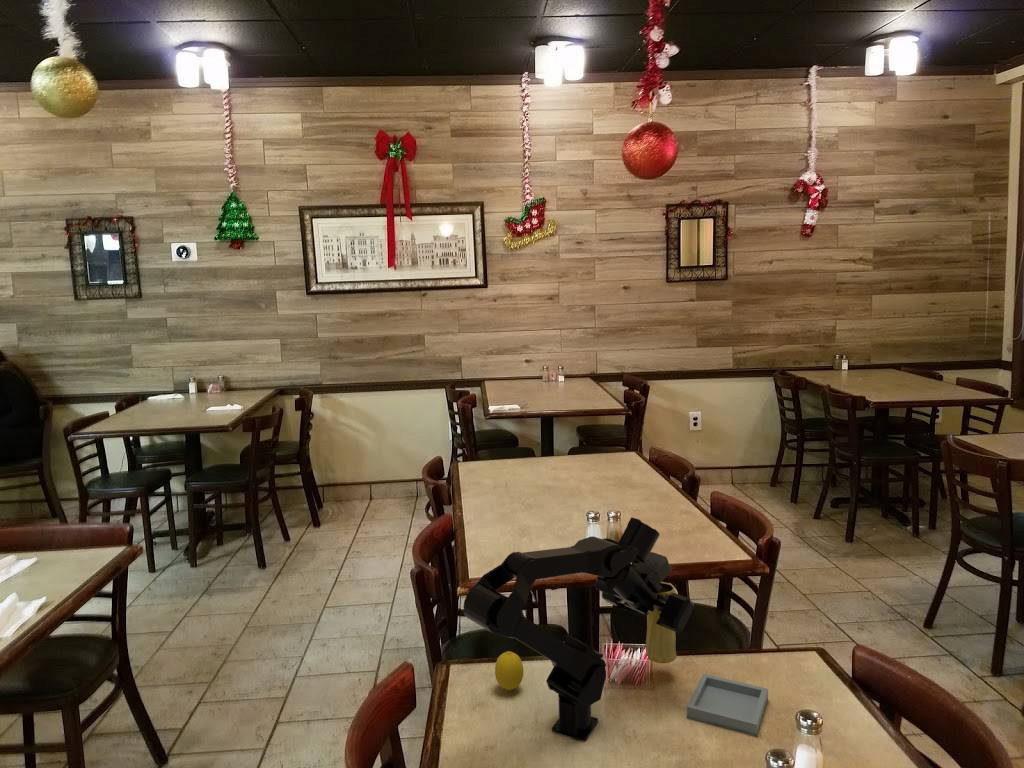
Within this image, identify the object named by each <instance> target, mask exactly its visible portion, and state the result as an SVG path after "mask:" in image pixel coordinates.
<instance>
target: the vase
mask: <svg viewBox="0 0 1024 768" xmlns="http://www.w3.org/2000/svg"><path fill="white" fill-rule="evenodd" d="M660 585H661V586H662V589H661V591H660V593H658V592H657V594H658V595H661V596H663V597H664V596H665V595H670V594H673V593H676V592H675V591H676V590H675V586H674V585H673V584H672V583H669V582H666V581H665V582H664V581H662V582H661V583H660ZM658 601H659V600H658ZM660 602H662V601H660ZM659 615H660V612H659V609H658V608H656V607H654V611H653V612H650V611H648V612H647V616H646V621H647V622H646V638H645V639H646V640H645V650H646V652H647V656H648V658H647V659H648V660H649V661H652V662H654V663H657V664H669V663H672V662H674V661H675V660H676V659H677V656H678V655H677V652H676V651H677V650H676V641H677V640H676V632H675V631H672V630H670V629H668V628H665V627H663V626H660V625H658V624H656V623H657V621H658V619H659Z"/></svg>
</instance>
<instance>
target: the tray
mask: <svg viewBox="0 0 1024 768" xmlns="http://www.w3.org/2000/svg"><path fill="white" fill-rule="evenodd" d="M768 700H769V688H766V687H762V686H758V685H755V684H754V685H753V684H749V683H745V682H740V681H736V680H731V679H728V678H723V677H719V676H715V675H710V674H707V673H702V675H701V677H700V679H699V681H698V683H697V684H696V687H695V689H694V691H693V693H692V695H691V698H690V700H689V702H688V704H687V706H686V719H688V720H692V721H696V722H700V723H704V724H708V725H711V726H715V727H719V728H723V729H727V730H730V731H734V732H738V733H741V734H746V735H747V736H748V735H749V736H753V737H755V738H757V737H758V734H759V731H760V727H761V724H762V720H763V718H764V717H763V716H764V714H765V710H766V707H767V705H768Z"/></svg>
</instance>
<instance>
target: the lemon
mask: <svg viewBox="0 0 1024 768" xmlns="http://www.w3.org/2000/svg"><path fill="white" fill-rule="evenodd" d="M494 665H495V666H494V675H495V679H496V682H497V684H498V685H499V686H500V687H501V688H503V689H504V690H507V691H510V692H511V691H513V690H514V689H515V688H517V687H519V686H520V685H521V684H522V681H523V678H524V665H523V662H522V659H521V658H520V656H519V655H518V654H516V653H515V652H513V651H509V650H507V651H506V652H505V651H504V652H503V653H502V654H500V655H499V656H498V657H497V659H496V662H495V664H494Z"/></svg>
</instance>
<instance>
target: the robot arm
mask: <svg viewBox="0 0 1024 768" xmlns="http://www.w3.org/2000/svg"><path fill="white" fill-rule="evenodd" d="M659 537H660V533H659V531H658V530H657V529H656V528H655V529H654V528H653V527H651V526H650V525H648V524H646V523H644V522H643V521H642V520H641V519H639V518H636V517H630V519H629V521H628V522H627V526H626V527H625V529H624V531H623V533H622V535H621V536H620V538H619V540H614V539H612V538H608V537H607V538H605V537H604V538H600V537H597V536H592V535H591V536H588V537H585V538H583V539H580V540H578V541H577V542H576V543H575V544H574V545H572V546H567V547H560V548H559V547H558V548H551V549H543V550H542V549H541V550H533V551H526V552H524V551H523V552H521V551H513V552H511V553H509V554H508V555H507V556H506V558H505V559H504V560H502V563H500V564H499V565H497V566H496V567H494V568H493V569H491V570H489V571H488V572H486V573H485V574H483V575H482V576H481V577H480V578H479V580H478V581H477V582H476V583H475V585H474V586H473V587H472V588H471V589H470V590H469V592H468V593H467V595H466V596H465V598H464V602H463V615H464V616H465V617H466V618H467V619H468V620H470V621H471V622H473V623H475V624H477V625H479V626H480V627H482V628H483V629H485V630H487V631H488V632H490V633H492V634H494V635H496V636H500V637H504V638H506V639H507V638H509V639H515V640H517V641H518V642H520V643H522V644H523V645H525V646H527V647H528V648H530V649H532V650H534V651H535V652H537V653H539V655H541V656H543V657H545V658H546V659H548V660H549V661H550V662H551V664H552V666H553V668H552V669H551V671H550V673H549V674H548V676H547V678H546V684H547V687H548V689H549V690H551V691H553V692H555V693H556V694H557V695H558V719H557V720H556V721H555V722H554V724H553V726H552V727H551V731H552V732H553V733H556V734H559V735H562V736H565V737H568V738H572V739H575V740H579V741H582V742H585V741H586V740H587V739H588V738H589V736H590V735H591V734H592V733H593V731H594V729H595V727H597V725H598V723H599V718H598V717H595V716H592V705H593V704H595V703H597V702H599V701H600V700H601V699H602V695H603V691H604V685H605V682H606V677H607V671H606V667H607V663H606V662H605V660H604V659H603V657H604V654H603V653H600V652H599V651H597V650H595V649H594V648H592V647H591V646H589V644H586V643H584V642H582V641H580V640H579V639H577V638H575V637H573V636H571V635H569V634H566V636H565V638H564V641H562V640H560V639H559V638H558V637H556V636H555V635H553V634H552V633H550V632H549V631H547V630H546V629H544V628H542V627H541V626H539V625H537V624H536V623H535V622H533V621H532V620H530V619H528V618H527V617H526V616H525V614H524V612H523V610H524V609H525V607H526V606H527V603H528V600H529V597H530V596H529V595H530V591H531V587H532V585H534V583H535V582H536V581H537V580H543V579H544V580H545V579H550V578H555V577H562V576H563V577H564V576H570V575H575V574H589V575H593V576H597V577H596V581H595V583H594V589H595V590H598V591H600V592H601V598H602V599H603V600H604V601H605V602H607V603H609V604H611V605H613V606H615V607H617V606H618V608H620V609H622V610H624V611H626V612H628V613H633V614H638V615H641V616H646V617H647V612H648V611H650V612H653V611H654V607H656V608H658V609H659V612H660V615H659V619H658V621H657V623H656V624H658V625H660V626H663V627H665V628H668V629H670V630H672V631H675V633H677V634H680V633H682V632H683V630H684V629H685V626H686V625H687V623H688V621H689V619H690V617H691V614H692V612H693V610H694V608H695V604H694V602H693V601H692V600H691V599H690V598H689V597H686V596H684V595H681V594H678V593H676V592H675V593H673V594H670V595H665V596H664V597H663V596H661V595H658V594H657V592H658V593H660V591H661V589H662V586H661V585H660V583H661V582H664V580H665V579H666V578H667V577H668V576H669V575H670V574H671V572H672V567H671V565H670V563H669V560H668V557H667V556H666V555H663V554H659V553H657V552H653V551H652V550H653V549H654V547H655V545H656V543H657V541H658V539H659ZM514 578H515V582H514V587H513V589H512V591H511V593H510V594H509V596H506V595H504V594H503V593H501V592H499V591H497V589H499V588H500V587H503V586H504V585H506V584H507V583H508V582H511V581H512V580H513V579H514ZM658 600H659V601H658ZM660 601H662V602H660Z"/></svg>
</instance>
